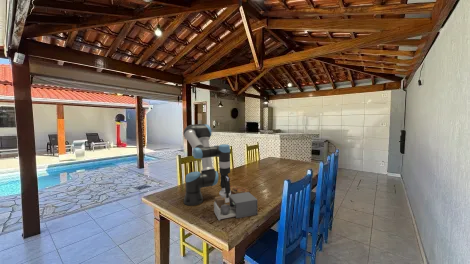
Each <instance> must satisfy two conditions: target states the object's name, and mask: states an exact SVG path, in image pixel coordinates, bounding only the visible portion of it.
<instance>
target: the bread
mask: <svg viewBox="0 0 470 264" xmlns="http://www.w3.org/2000/svg"><path fill="white" fill-rule="evenodd" d="M230 191H231V195H232V194H238V193H245V192H249V193H250V194H251V191H250V190H249V189H248V188H245V187H243V186H239V185H234V184H233V185H230Z"/></svg>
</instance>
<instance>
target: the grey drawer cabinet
mask: <svg viewBox="0 0 470 264" xmlns="http://www.w3.org/2000/svg"><path fill="white" fill-rule="evenodd" d="M228 203H229V206H230V207H232V206H235V208H236V216H235V218H236V219H242V218H246V217H250V216H251V217H252V216H256V215H258V199H257V198H256V197H255V196H254V195H253V194H252V193H251V192H250V193H249V192H245V193H238V194H232V195H229V202H228Z"/></svg>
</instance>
